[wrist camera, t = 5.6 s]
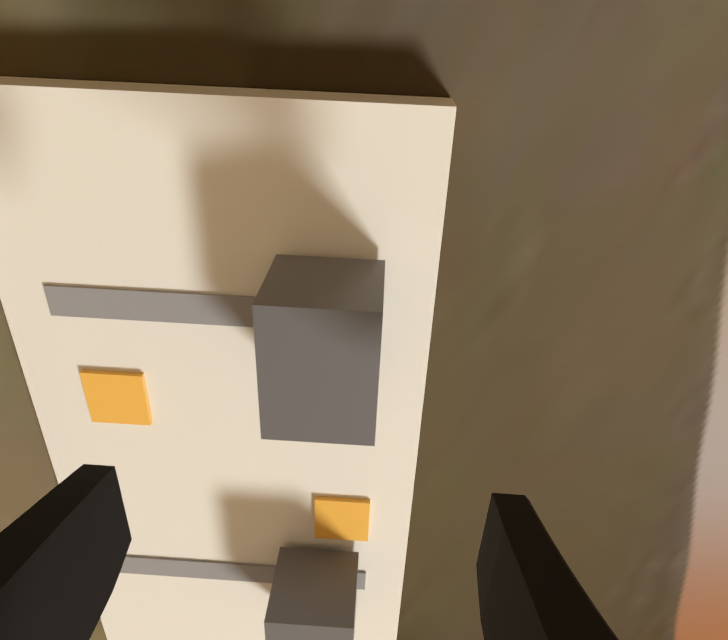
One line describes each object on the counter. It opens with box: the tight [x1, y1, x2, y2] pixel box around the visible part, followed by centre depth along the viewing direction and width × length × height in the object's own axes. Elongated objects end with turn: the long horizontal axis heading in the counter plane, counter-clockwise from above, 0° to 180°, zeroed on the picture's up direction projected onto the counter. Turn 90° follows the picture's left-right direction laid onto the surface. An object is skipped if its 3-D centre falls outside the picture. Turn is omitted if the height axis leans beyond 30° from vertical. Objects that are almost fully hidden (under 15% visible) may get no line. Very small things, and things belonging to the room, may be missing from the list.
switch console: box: [0, 76, 456, 640], centre depth 20 cm, size 13×24×2 cm, turn 178°
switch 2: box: [264, 547, 359, 640], centre depth 21 cm, size 3×4×3 cm
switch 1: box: [252, 254, 385, 446], centre depth 15 cm, size 3×4×3 cm
